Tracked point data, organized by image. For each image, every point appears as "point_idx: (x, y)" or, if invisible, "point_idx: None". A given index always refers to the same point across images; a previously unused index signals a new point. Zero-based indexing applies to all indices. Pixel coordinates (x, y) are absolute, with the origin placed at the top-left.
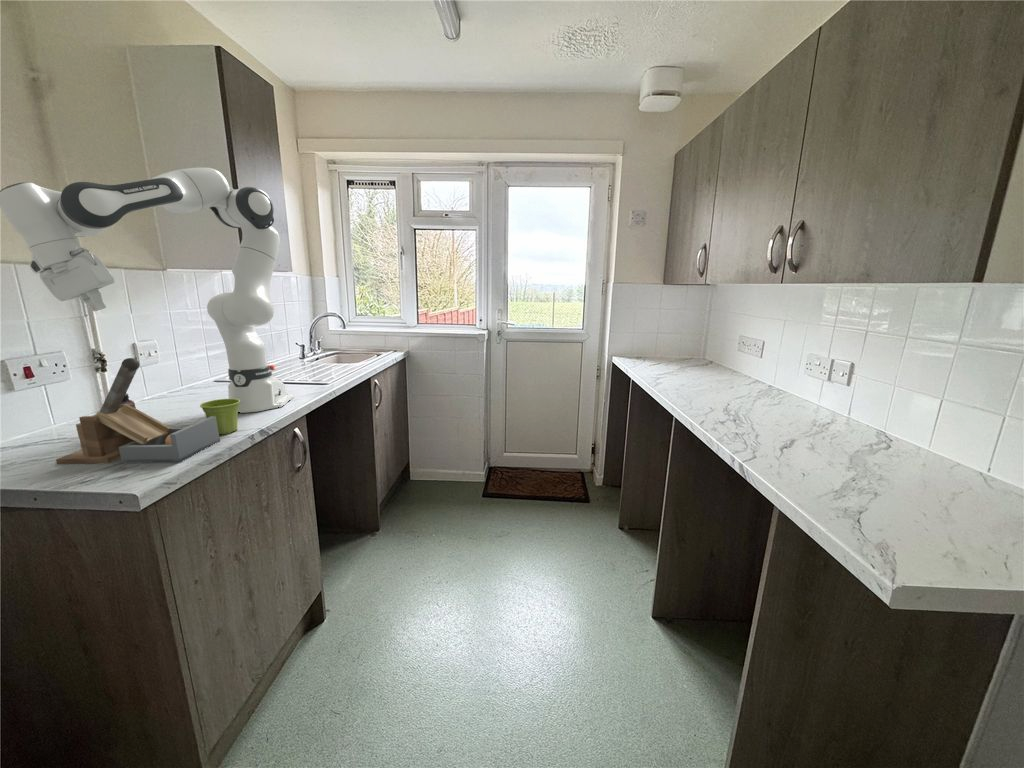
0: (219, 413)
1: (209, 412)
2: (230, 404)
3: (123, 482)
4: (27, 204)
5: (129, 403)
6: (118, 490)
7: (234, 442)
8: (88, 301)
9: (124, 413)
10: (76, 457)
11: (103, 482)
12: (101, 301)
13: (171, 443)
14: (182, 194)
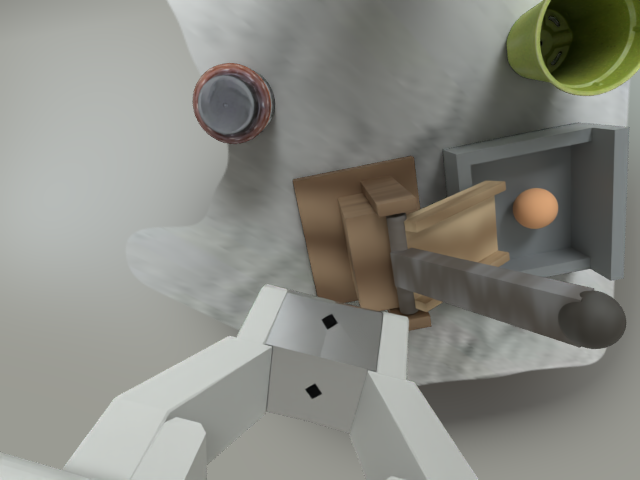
0: (601, 76)
1: (577, 88)
2: None
3: (541, 340)
4: None
5: (266, 99)
6: (560, 362)
7: (622, 124)
8: (225, 431)
9: (423, 237)
10: (354, 293)
11: (504, 345)
12: (401, 384)
13: (595, 271)
14: None
